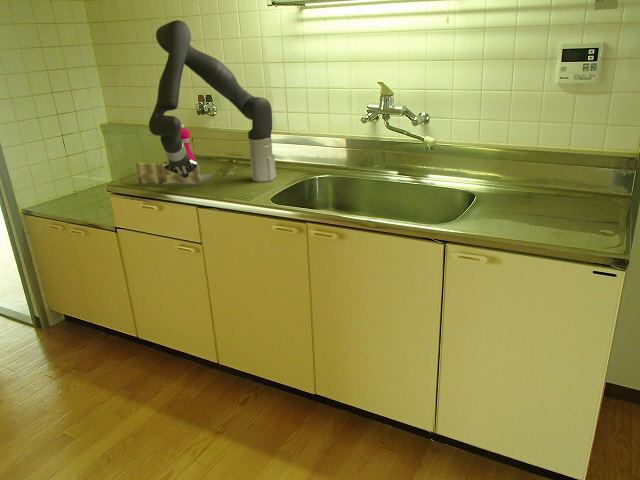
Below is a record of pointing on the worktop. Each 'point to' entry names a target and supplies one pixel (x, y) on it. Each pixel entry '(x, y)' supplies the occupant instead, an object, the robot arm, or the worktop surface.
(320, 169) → the worktop surface
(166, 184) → the card
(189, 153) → the pepper mill
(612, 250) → the worktop surface
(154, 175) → the fence frame
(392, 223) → the worktop surface
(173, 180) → the fence gate
